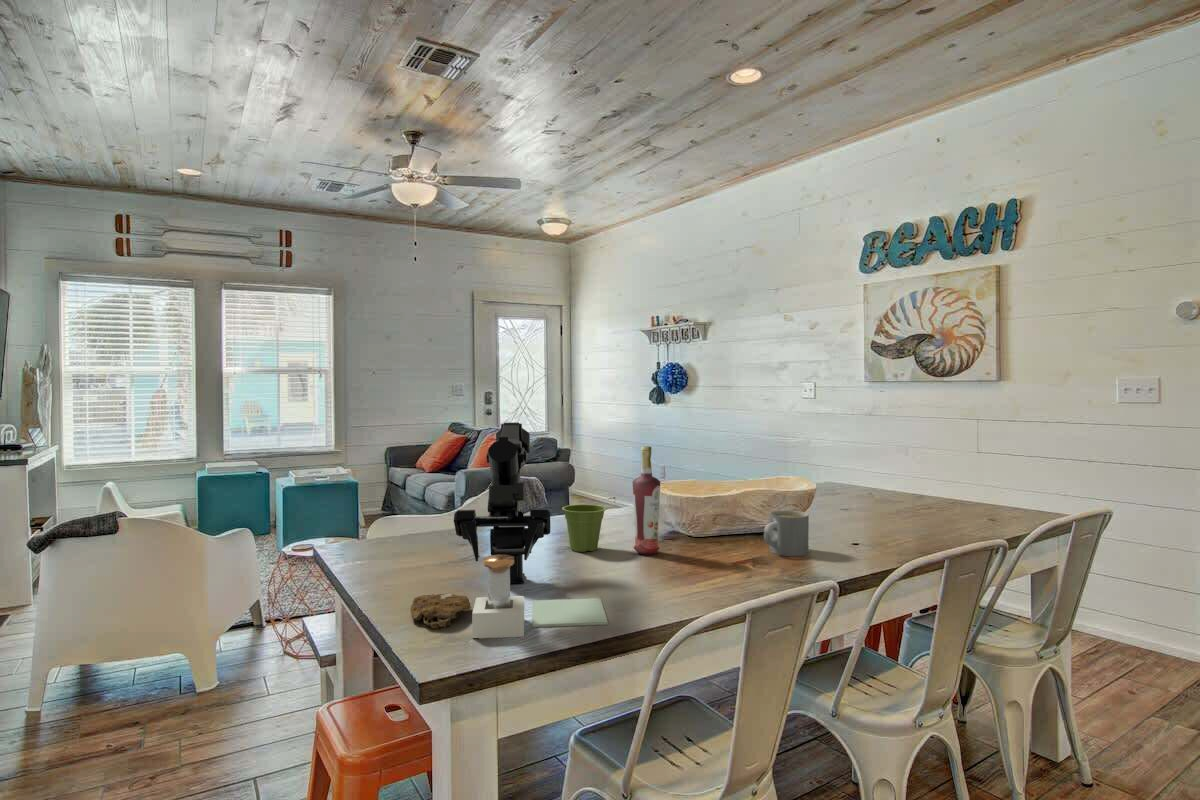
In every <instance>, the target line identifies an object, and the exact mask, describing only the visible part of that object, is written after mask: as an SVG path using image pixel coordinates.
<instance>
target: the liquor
mask: <svg viewBox="0 0 1200 800" xmlns="http://www.w3.org/2000/svg"><path fill="white" fill-rule="evenodd" d="M640 448H641V450H640V453H641V458H642V459H641V468H640V469H641V470H640V476H638V477H636V478H635V479H634V480H632V499H633V500H632V501H633V502H632V503H633V515H634V541H635V542H634V543H635V545H634V546H633V549H634V550H635V551H636V552H637V553H638V554H639V555H642V556H652V555H655V554H656V553H657V552H658V551H659V550H660V546H659V524H660V522H659V519H660V518H659V517H660V504H661V503H660V502H661V501H660V500H661V481H660V480H659V479H658V478H657V477H654V476H653V470H652V469H653V467H652V461H651V460H652V459H651V458H652V446H641V447H640Z"/></svg>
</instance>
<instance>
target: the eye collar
mask: <svg viewBox="0 0 1200 800" xmlns="http://www.w3.org/2000/svg"><path fill="white" fill-rule="evenodd" d="M471 616H472V617H471V618H472V627H471V628H472V635H471V636H472V639H473V638H479V639H499V638H500V639H501V638H502V639H503V638H522V637H523V638H524V637H525V596H524V595H516V596H514V595H513V596H511V595H510V608H508V609H488V596H483V597H482V596H481V597H476V598H475V601H474V606H473V609H472V615H471Z"/></svg>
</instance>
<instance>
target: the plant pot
mask: <svg viewBox="0 0 1200 800" xmlns="http://www.w3.org/2000/svg"><path fill="white" fill-rule="evenodd" d="M561 509H562V511H564V517H565V519H566V526H567V532H568V539H569V540H568V542H569V546H570V548H569V549H571V550H572V551H573V552H580V553H585V552H587V551H589V552H594V551H596V550H598V546H599V542H600V541H599V540H600V532H601V527H602V521H603V518H604V515H605V512H606V510H607V507H605V506H604V505H598V504H587V503H586V504H585V503H584V504H582V503H581V504H570V505H565V506H562V508H561Z"/></svg>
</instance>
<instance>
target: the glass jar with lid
mask: <svg viewBox="0 0 1200 800" xmlns="http://www.w3.org/2000/svg"><path fill="white" fill-rule="evenodd" d="M482 560H483V563H482V564H483V567H486V568H487V594H488V595H487V597H488V609H508V608H510V596H511V583H510V566H512V565H514V557H513V556H510V555H491V554H490V555H488V556H487V555H486V556H485V557H483V559H482Z"/></svg>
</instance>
